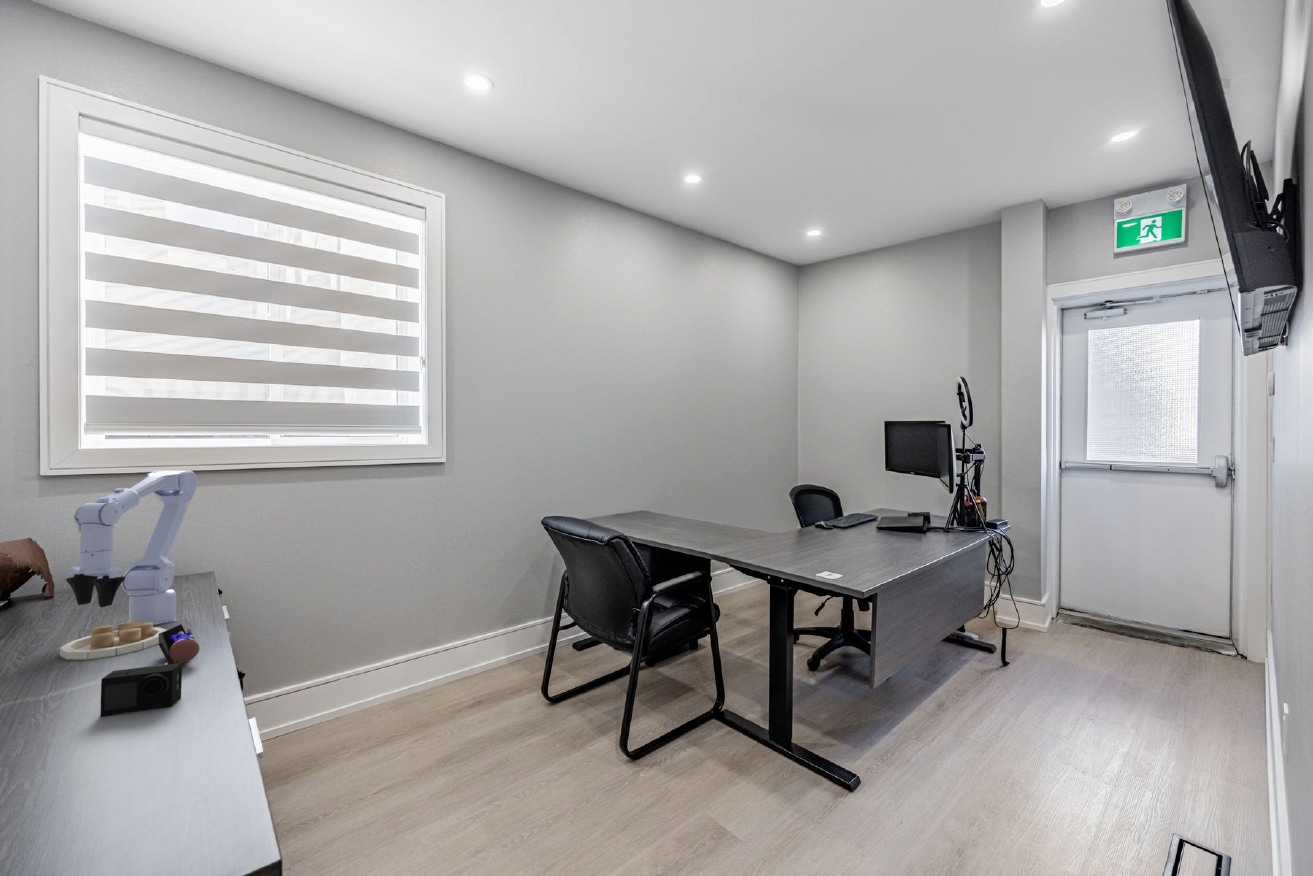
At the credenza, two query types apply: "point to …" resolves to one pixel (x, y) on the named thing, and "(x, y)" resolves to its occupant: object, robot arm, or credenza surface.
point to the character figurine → (178, 645)
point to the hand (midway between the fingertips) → (94, 605)
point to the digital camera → (140, 689)
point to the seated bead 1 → (102, 641)
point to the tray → (83, 646)
